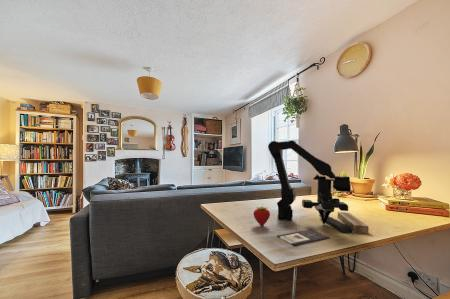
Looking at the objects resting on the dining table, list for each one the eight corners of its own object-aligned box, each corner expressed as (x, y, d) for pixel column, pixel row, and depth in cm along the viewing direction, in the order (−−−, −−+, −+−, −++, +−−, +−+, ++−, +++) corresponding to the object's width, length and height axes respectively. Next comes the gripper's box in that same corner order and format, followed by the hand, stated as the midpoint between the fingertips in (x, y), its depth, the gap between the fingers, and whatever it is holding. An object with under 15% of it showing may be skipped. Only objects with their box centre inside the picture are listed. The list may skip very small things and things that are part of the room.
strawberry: (251, 224, 94) (251, 202, 94) (266, 223, 95) (266, 201, 96) (256, 228, 88) (256, 205, 88) (272, 227, 90) (272, 204, 90)
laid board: (353, 232, 86) (353, 224, 86) (337, 217, 106) (337, 211, 106) (368, 233, 85) (368, 225, 85) (349, 218, 105) (349, 212, 105)
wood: (360, 235, 85) (360, 227, 85) (342, 234, 84) (343, 227, 84) (329, 218, 107) (330, 212, 107) (316, 218, 106) (316, 212, 106)
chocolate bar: (329, 236, 79) (293, 244, 72) (329, 239, 79) (293, 247, 72) (311, 229, 88) (277, 235, 80) (311, 231, 88) (277, 237, 80)
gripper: (306, 191, 89) (305, 227, 89) (353, 194, 86) (353, 232, 85) (301, 187, 100) (301, 219, 100) (343, 189, 96) (343, 223, 96)
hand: (323, 223), depth 95 cm, fingers closed
